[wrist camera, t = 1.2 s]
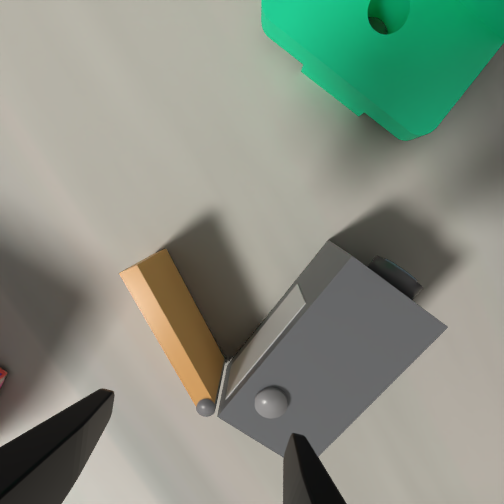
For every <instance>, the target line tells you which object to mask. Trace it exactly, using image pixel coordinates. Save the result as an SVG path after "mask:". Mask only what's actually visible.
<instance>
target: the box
mask: <svg viewBox="0 0 504 504" xmlns="http://www.w3.org/2000/svg"><path fill="white" fill-rule="evenodd" d="M7 374H8V373H7V372H6V371H5V370H3V369H2V368H1V367H0V388H1V386H2V384H3V382H4V380H5V378H6V376H7Z"/></svg>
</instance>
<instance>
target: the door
mask: <svg viewBox="0 0 504 504" xmlns="http://www.w3.org/2000/svg"><path fill="white" fill-rule="evenodd" d="M119 274H120V276H121V278H122V280H123V281H124V283H125V285H126V287H127V288H128V290H129V292H130V293H131V295H132V297H133V299H134V300H135V302H136V304H137V306H138V307H139V309H140V311H141V312H142V314H143V316H144V318H145V319H146V321H147V323H148V325H149V326H150V328H151V330H152V331H153V333H154V335H155V337H156V338H157V340H158V342H159V344H160V345H161V347H162V349H163V350H164V352H165V354H166V356H167V357H168V359H169V361H170V363H171V364H172V366H173V368H174V369H175V371H176V373H177V375H178V376H179V378H180V380H181V382H182V383H183V385H184V387H185V388H186V390H187V392H188V394H189V395H190V397H191V399H192V401H193V402H194V404H195V406H196V410H197V412H198V413H199V414H200V415H202V416H205V417H208V416H211V415H213V414H214V412H215V408H216V404H217V399H218V394H219V389H220V384H221V380H222V375H223V370H224V365H225V357H224V356H223V355H222V353H221V351H220V349H219V348H218V346H217V344H216V342H215V340H214V338H213V336H212V334H211V332H210V331H209V329H208V327H207V325H206V323H205V321H204V319H203V317H202V315H201V314H200V312H199V310H198V308H197V306H196V304H195V302H194V300H193V298H192V296H191V295H190V293H189V291H188V289H187V287H186V285H185V283H184V281H183V279H182V278H181V276H180V274H179V272H178V270H177V268H176V266H175V264H174V262H173V261H172V259H171V257H170V255H169V253H168V251H167V249H163V250H161V251H159V252H157V253H155V254H152V255H150V256H149V257H147V258H145V259H143V260H142V261H140V262H138V263H136V264H134V265H133V266H131V267H129V268H127V269H125V270H124V271H122V272H120V273H119Z"/></svg>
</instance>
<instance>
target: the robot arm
mask: <svg viewBox="0 0 504 504" xmlns="http://www.w3.org/2000/svg"><path fill="white" fill-rule="evenodd" d="M113 402H114V391H112V390H107V389H99V390H97V391H95V392H94V393H92V394H90V395H89V396H87V397H85V398H83V399H82V400H80V401H78V402H77V403H75V404H73V405H71V406H70V407H68V408H66V409H65V410H63V411H61V412H60V413H58V414H56V415H54V416H53V417H51V418H49V419H48V420H46V421H44V422H42V423H41V424H39V425H37V426H36V427H34V428H32V429H31V430H29V431H27V432H25V433H24V434H22V435H20V436H19V437H17V438H15V439H13V440H12V441H10V442H8V443H7V444H5V445H3V446H2V447H0V504H62V502H63V501H64V499H65V498H66V496H67V495H68V493H69V492H70V490H71V488H72V487H73V485H74V484H75V482H76V480H77V479H78V477H79V475H80V473H81V472H82V470H83V468H84V466H85V464H86V462H87V461H88V459H89V457H90V455H91V453H92V451H93V449H94V448H95V446H96V444H97V442H98V440H99V438H100V436H101V435H102V433H103V431H104V429H105V427H106V425H107V423H108V421H109V419H110V417H111V414H112V408H113ZM283 504H346V502H345V500H344V499H343V497H342V495H341V494H340V492H339V491H338V489H337V487H336V486H335V484H334V482H333V481H332V479H331V477H330V476H329V474H328V472H327V471H326V469H325V468H324V466H323V464H322V463H321V461H320V459H319V458H318V456H317V454H316V453H315V451H314V449H313V448H312V446H311V445H310V443H309V441H308V440H307V438H306V437H305V436H304V435H301V434H297V433H292V434H291V436H290V438H289V441H288V444H287V447H286V450H285V453H284V461H283Z"/></svg>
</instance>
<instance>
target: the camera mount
mask: <svg viewBox="0 0 504 504" xmlns="http://www.w3.org/2000/svg"><path fill="white" fill-rule="evenodd" d="M368 17H376V18H378V19H380V20H381V21H383V23H384V24H385V26H386V28H387V32H388V34H380V33H378V32H376V31H375V30H374V29H373V28H372V27H371V25H370V23H369V20H368ZM261 22H262V27H263V30H264V32H265V34H266V35H267V36H268V37H269V38H270V39H272V40H273V41H274V42H275V43H277V44H278V45H279V46H281V47H282V48H283V49H284V50H286V51H287V52H288V53H289V54H291V55H292V56H293V57H295V58H296V59H297V60H298V61H300V62H301V63H302V64H303V67H302V70H301V72H302V73H304V74H305V75H306V76H308V77H309V78H310V79H311V80H313V81H314V82H315V83H317V84H318V85H319V86H320V87H322V88H323V89H324V90H326V91H327V92H328V93H329V94H331V95H332V96H333V97H334V98H336V99H337V100H338V101H340V102H341V103H342V104H343V105H345V106H346V107H347V108H349V109H350V110H351V111H352V112H354V113H355V114H356V115H358V116H360V115H361V114H363V113H364V112H365V113H366V114H367V115H368V116H370V117H371V118H372V119H373V120H375V121H376V122H377V123H379V124H380V125H381V126H382V127H384V128H385V129H386V130H387V131H389V132H390V133H391V134H393V135H394V136H395V137H396V138H398V139H400V140H404V141H408V140H412V139H415V138H418V137H420V136H423V135H426V134H428V133H430V132H432V131H433V130H435V129H436V128H437V127H438V125H439V124H440V123H441V122H442V120H443V119H444V118H445V116H446V115H447V114H448V113H449V111H450V110H451V109H452V108H453V106H454V105H455V104H456V103H457V101H458V100H459V99H460V98H461V96H462V95H463V94H464V92H465V91H466V90H467V89H468V87H469V86H470V85H471V84H472V82H473V81H474V80H475V79H476V77H477V76H478V75H479V74H480V72H481V71H482V70H483V69H484V67H485V66H486V65H487V63H488V62H489V61H490V60H491V58H492V57H493V56H494V55H495V53H496V52H497V51H498V50H499V48H500V47H501V46H502V45H503V43H504V0H262V7H261Z"/></svg>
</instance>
